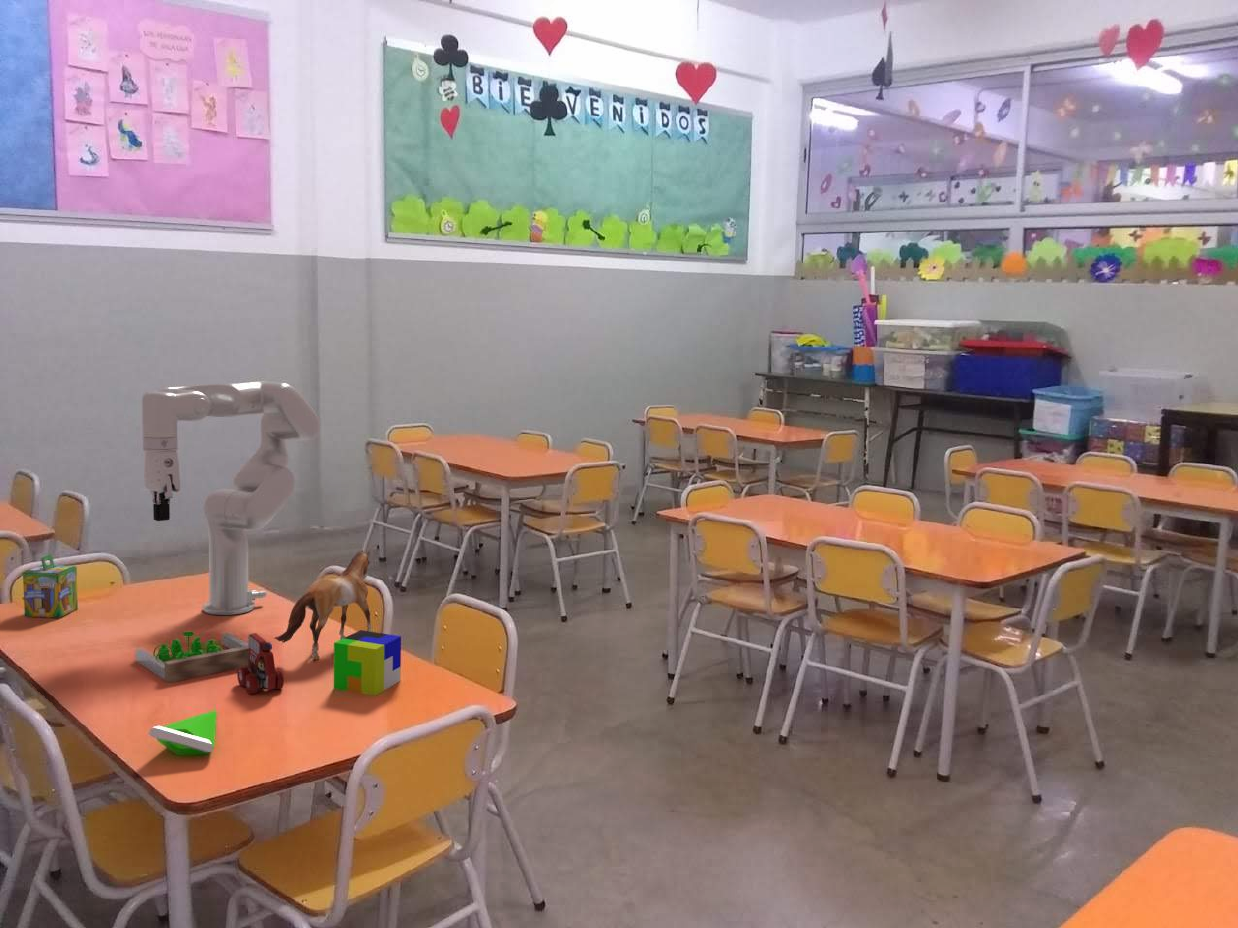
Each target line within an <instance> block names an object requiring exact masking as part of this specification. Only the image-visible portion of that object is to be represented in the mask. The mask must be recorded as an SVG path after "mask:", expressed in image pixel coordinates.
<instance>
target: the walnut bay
mask: <svg viewBox="0 0 1238 928" xmlns="http://www.w3.org/2000/svg"><path fill="white" fill-rule="evenodd" d="M221 645H223V646H224V647H226V648H227V649H224V650H223V649H222V650H223V651H221V650H220V651H217V652H212V653H207V654H206V653H205V654H202V655H197V656H191V657H186V658H181V659H176V658H175V659H176V660H173V659H171V660H170V661H166V662H163V661H161V660H160V659H158V657H157V658H155V656H156V655H155V656H154V655H153V653H150V652H149V651H147V650H145V649H144V648H138V649H135V661H136V662H137V663H139V664H140V665H142V666H143V667H144V668H146V669H147V670H149V671H150V672H152V673H153V674H155V676H156V675H157V676H158V677H159V678H161V679H162V680H164V681H165V682H166V683H173V682H174V683H175V682H178V681H183V680H188V679H193V678H198V677H203V676H207V675H211V674H212V675H213V674H218V673H222V672H226V671H231V670H236V669H239V668H240V667H244V666H246V667H248V657H249V646H248V642H246V641H244V640H242V639H240V638H239V637H237V636H235V635H233V634H231V633H229V632H225V633H221Z"/></svg>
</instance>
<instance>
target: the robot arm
mask: <svg viewBox="0 0 1238 928" xmlns="http://www.w3.org/2000/svg"><path fill="white" fill-rule="evenodd" d="M141 408H142V409H141V410H142V411H141V412H142V450H143V451H144V452H145V455H144V456H145V458H144V485H145V487H146V488H147V489H148V490H149V492H150V493H151V497H152V504H153V505H152V507H153V510H152V511H153V520H154V521H155V522H163V521H165V522H166V521H169V520H170V519H171V518H170V517H171V516H170V515H171V514H170V513H171V512H170V511H171V509H170V508H171V507H170V504H171V499H173V497H174V495H173V492H174V493H175V492H176V493H178V492H180V491H181V477H180V466H179V457H178V453H177V451H178V447H179V446H178V445H179V444H178V422H181V421H183V422H199V421H201V420H203V419H205V418H206V417H213V418H234V417H241V416H249V415H258V414H259V415H261V414H262V417H261V420H260V431H261V432H260V434H261V435H260V436H261V437H260V439H261V441H260V445H259V447H258V449H257V450H256V451H255V453H254V454H253V455H252V456H251V457H250V458H249V460H247V462H246V463H244V465H243V466H242V467H241V468H240V469H239V470H238V472H237V473H236V475H235V477H234V479H233V487H234V489H232V488H231V489H230V488H220V489H216V490H214V491H212V492H211V493H209V494H208V496H207V497H206V499H205V501H204V505H203V511H204V513H203V514H204V518H205V521H206V526H207V533H208V534H207V535H208V574H209V575H208V577H209V578H208V579H209V580H208V581H209V583H208V584H209V589H208V590H209V593H208V594H209V598H208V599H209V600H208V602H206V603H204V604H203V606H202V610H203V612H204V613H206V614H210V615H215V616H231V615H239V614H240V615H241V614H245V613H248V612H251V611H252V610H254V609H255V605H256V604H255V602H254V601H255V600H256V599H264V598H266V597H267V592H266V590H258V591H257V590H256V589H255V590H252V589H249V540H248V537H247V536H248V535H247V534H246V533H247V532H246V531H245V530H248V531H249V530H250V531H253V530H254V531H255V530H261V529H262V528H264V527H266V525H268V524H270V522H271V520H273V518H274V517H275V516H276V515H277V514H278V512H279V511H280V510H281V509H282V508H283V506H285V504H287V502H288V501H289V500H290V498H291V496H292V494H293V493H294V490H295V489H294V488H295V485H296V483H295V481H296V480H295V476H294V474H293V472H292V471H291V470H290V469H289V468H288V467H287V466H288V463H289V461H290V460H289V459H290V457H289V450H288V445H287V444H288V443H287V440H292V441H300V442H301V441H302V442H305V441H307V442H309V441H311V440H313V439H315V438H316V437H317V436H318V434H319V432H320V429H321V423H320V419H319V416H318V414H317V413H316V411H315V409H314V408H312V406H311V405H310V404H309V402H308V401H307V400H306V399H305V398H304V397H303V396H302V394H300V393H299V392H298V390H296V388H294V387H293V386H292V385H290V384H288V383H285V382H277V381H276V382H275V381H274V382H273V381H264V380H262V381H261V380H259V381H257V380H256V381H247V382H246V381H245V382H235V383H233V382H232V383H222V384H221V383H217V384H216V383H215V384H205V385H187V386H185V385H184V386H173V387H172V386H171V387H163V388H161V389H158V390H156V391H149V392H145V393H144V394H143V395H142V398H141Z"/></svg>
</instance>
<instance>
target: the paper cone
mask: <svg viewBox="0 0 1238 928" xmlns="http://www.w3.org/2000/svg"><path fill="white" fill-rule="evenodd" d="M217 714H218V713H217V710H216V709H215V710H211V711H207V712H205V713H201V714H199V715H198V714H197V715H195V716H191V717H188V718H185V719H182V720H178V721H175V722H172V723H169V724H166V725H163V726H161V725H157V726H152V727H151V729H149V731H148V735H149V736H150V737H151V738H154V739H156V740H157V741H158V742H159V743H160V744H161V745H163V746H164V747H165V748H167V749H168V750H170V751H171V752H173V753H174V754H175V755H176V756H191V755H193V756H194V755H208V754H209V753H210V752H213V751H214V747H215V739H216V738H215V736H216V734H215V733H216V726H217V725H216V724H217Z"/></svg>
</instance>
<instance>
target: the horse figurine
mask: <svg viewBox="0 0 1238 928" xmlns="http://www.w3.org/2000/svg"><path fill="white" fill-rule="evenodd" d="M370 554H371V553H370V551H369V550H368V551H367V552H366V553H365V552H364V550H360V551H358V552H357V553H356V554H355V555H354V556H353V557H352V559H351V560H350V563H349V564H348V565H347V567H346V568H345V569H344V570H343V571H341V572H342V573H341V574H340V575H339V576H338V577H337V578H319V579H317V580H315V581H314V582H312V583H311V584H310V586H309V587H308V588H307V590H306V592H305V593H304V594H303V595H302V596H301V597H300V598H299V599H298V600H297V602H296V603H295V604H294V606H293V607H292V610H291V612H290V615H289V620H288V625H287V628H286V630H285V632H284V633H282V634H280V635H279V636H275V637H274V638H273V639H274V640H276V641H278V642H281V643H283V644H284V643H286V642H288V641H290V640H291V639H292V638H293V636H294V634H295V633H296V632H297V631H298V630H299V629H300V628H301V627H302V625H303V623H304V621H305V618H306V615H307V614H306V613H307V609H306V607H308V608H309V609H310V610H311V611H312V614H311V621H310V623H309V628H310V631H311V634H312V640H313V643H312V647H311V651H312V652H313V653H312V654H311V658H312V659H314V660H319V659H320V654H319V652H318V651H319V646H320V645H319V639H320V638H319V637H320V634H321V632H322V630H323V629H324V628H325V626H326V624H327V622H328V619H329V617H330V615H331V614H332V613H333V611H334V607H341V616H340V622H341V623H340V624H341V625H340V628H339V629H340V630H339V635H340V637H339V640H341V639H343V638H345V637H347V636H346V635H345V623H346V621H347V611H348V607H349V605H351V604H356V605H357V606H358V607H359V608H360V610H361V611H362V612H363V613H364V617H365V619H366V623H367V624H366V629H365V631H370V632H372V630H371V628H372V624H371V623H372V622H371V612H370V608H369V604H368V600H367V597H368V594H369V589H368V587H367V585H366V583H365V581H364V580H365V579H366V578H367V577H368V575H369V574H368V567H369V564H370V562H371V561H370V560H369V556H370Z"/></svg>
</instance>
